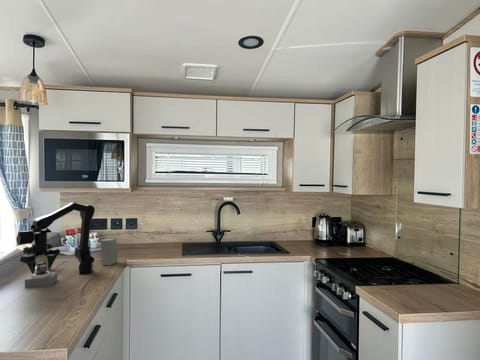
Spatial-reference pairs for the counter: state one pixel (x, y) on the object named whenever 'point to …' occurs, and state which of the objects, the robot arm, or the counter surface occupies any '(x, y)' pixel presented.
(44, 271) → the lens
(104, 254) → the skincare box
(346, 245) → the counter surface
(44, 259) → the coffee cup
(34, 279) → the camera body
